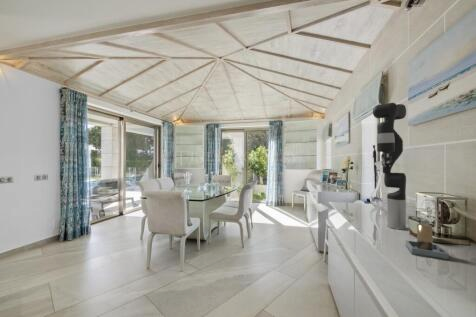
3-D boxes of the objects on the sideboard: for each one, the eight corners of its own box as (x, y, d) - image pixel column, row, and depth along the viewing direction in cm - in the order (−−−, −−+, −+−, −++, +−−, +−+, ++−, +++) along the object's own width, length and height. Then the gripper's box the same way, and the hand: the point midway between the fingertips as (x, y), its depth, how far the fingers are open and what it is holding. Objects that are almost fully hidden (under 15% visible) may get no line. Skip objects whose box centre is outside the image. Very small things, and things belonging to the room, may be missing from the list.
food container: (436, 242, 108) (435, 221, 108) (421, 241, 109) (421, 221, 109) (420, 234, 120) (420, 216, 120) (407, 233, 121) (407, 215, 121)
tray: (405, 245, 103) (405, 240, 103) (438, 250, 97) (437, 244, 97) (411, 254, 92) (411, 248, 92) (448, 260, 87) (448, 253, 87)
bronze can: (416, 247, 98) (415, 223, 99) (430, 249, 96) (430, 224, 96) (419, 251, 94) (419, 225, 94) (434, 254, 92) (434, 227, 92)
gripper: (396, 141, 105) (397, 174, 105) (392, 142, 118) (393, 173, 118) (378, 141, 109) (379, 174, 109) (376, 143, 121) (376, 172, 121)
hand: (386, 173), depth 113 cm, fingers open, 8 cm apart
